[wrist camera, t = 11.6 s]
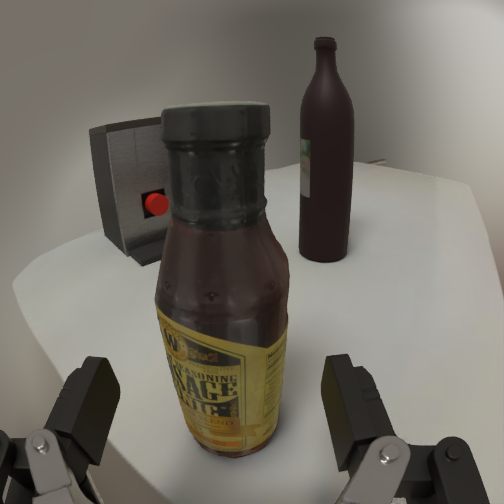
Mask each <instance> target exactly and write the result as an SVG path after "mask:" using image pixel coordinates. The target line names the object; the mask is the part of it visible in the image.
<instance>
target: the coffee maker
mask: <svg viewBox="0 0 504 504" xmlns="http://www.w3.org/2000/svg"><path fill="white" fill-rule="evenodd" d="M89 135H90V145H91V153H92V161H93V169H94V177H95V183H96V190H97V196H98V202H99V207H100V213H101V218H102V223H103V228H104V233H105V235H106V236H107V237H108V238H109V239H110V240H111V241H112V242H113V243H114V244H115V245H116V246H117V247H118V248H119V249H120V250H121V251H122V252H123V253H124V254H125V255H126V256H129V255H130V256H131V257H132V258H134V259H135V260H136V261H137V262H138V263H139V264H140V265H141V266H144V265H147V264H150V263H152V262H155V261H158V260H161V259H162V254H163V249H164V244H165V239H166V234H167V229H168V225H169V220H170V215H171V212H170V202H171V198H170V183H169V169H168V157H167V155H168V150H167V149H166V148H165V146H164V143H163V141H162V139H161V117H154V118H146V119H139V120H132V121H125V122H119V123H113V124H107V125H104V126H99V127H96V128H92V129H89ZM153 193H158V194H161V195H164V196H165V197H166V198H167V199H168V201H169V208H168V210H167V212H166V213H165V214H163V215H161V216H156V215H153V214H151V213H150V212H148V211H147V210H146V207H145V201H146V199H147V197H148V196H149V195H151V194H153Z"/></svg>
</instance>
